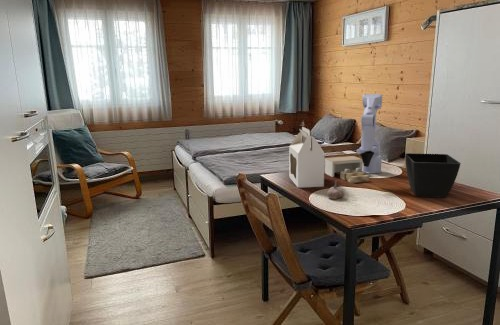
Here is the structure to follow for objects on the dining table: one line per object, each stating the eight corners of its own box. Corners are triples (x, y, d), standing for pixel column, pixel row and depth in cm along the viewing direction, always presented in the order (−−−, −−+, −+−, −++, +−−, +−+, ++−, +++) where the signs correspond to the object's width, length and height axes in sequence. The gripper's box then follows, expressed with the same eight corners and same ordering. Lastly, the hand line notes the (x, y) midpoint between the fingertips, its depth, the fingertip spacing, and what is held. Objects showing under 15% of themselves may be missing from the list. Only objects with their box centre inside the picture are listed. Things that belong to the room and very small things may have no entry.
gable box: (289, 176, 208) (289, 126, 203) (312, 175, 210) (313, 125, 204) (297, 188, 187) (298, 131, 181) (324, 186, 188) (325, 130, 182)
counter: (353, 170, 220) (353, 155, 218) (362, 174, 210) (362, 159, 208) (324, 172, 215) (324, 158, 214) (332, 177, 206) (332, 161, 204)
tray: (360, 176, 206) (360, 167, 205) (370, 181, 196) (371, 171, 195) (339, 178, 204) (340, 168, 202) (349, 183, 193) (349, 173, 192)
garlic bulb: (343, 195, 173) (343, 178, 171) (344, 200, 166) (345, 183, 164) (326, 195, 174) (326, 178, 173) (326, 200, 167) (327, 182, 166)
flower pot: (457, 200, 163) (461, 162, 159) (411, 199, 166) (413, 161, 163) (444, 188, 181) (447, 153, 177) (402, 187, 184) (404, 153, 181)
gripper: (369, 136, 193) (367, 162, 196) (351, 139, 184) (350, 167, 187) (381, 138, 187) (380, 165, 190) (364, 141, 178) (362, 169, 181)
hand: (366, 166), depth 188 cm, fingers closed
